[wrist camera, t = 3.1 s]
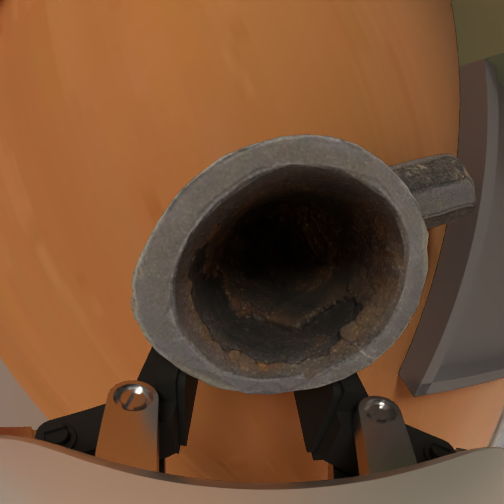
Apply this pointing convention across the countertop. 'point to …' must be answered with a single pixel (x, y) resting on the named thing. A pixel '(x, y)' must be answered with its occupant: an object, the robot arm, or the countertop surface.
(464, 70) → the gray tray
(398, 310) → the pipe
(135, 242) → the countertop surface
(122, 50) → the countertop surface
